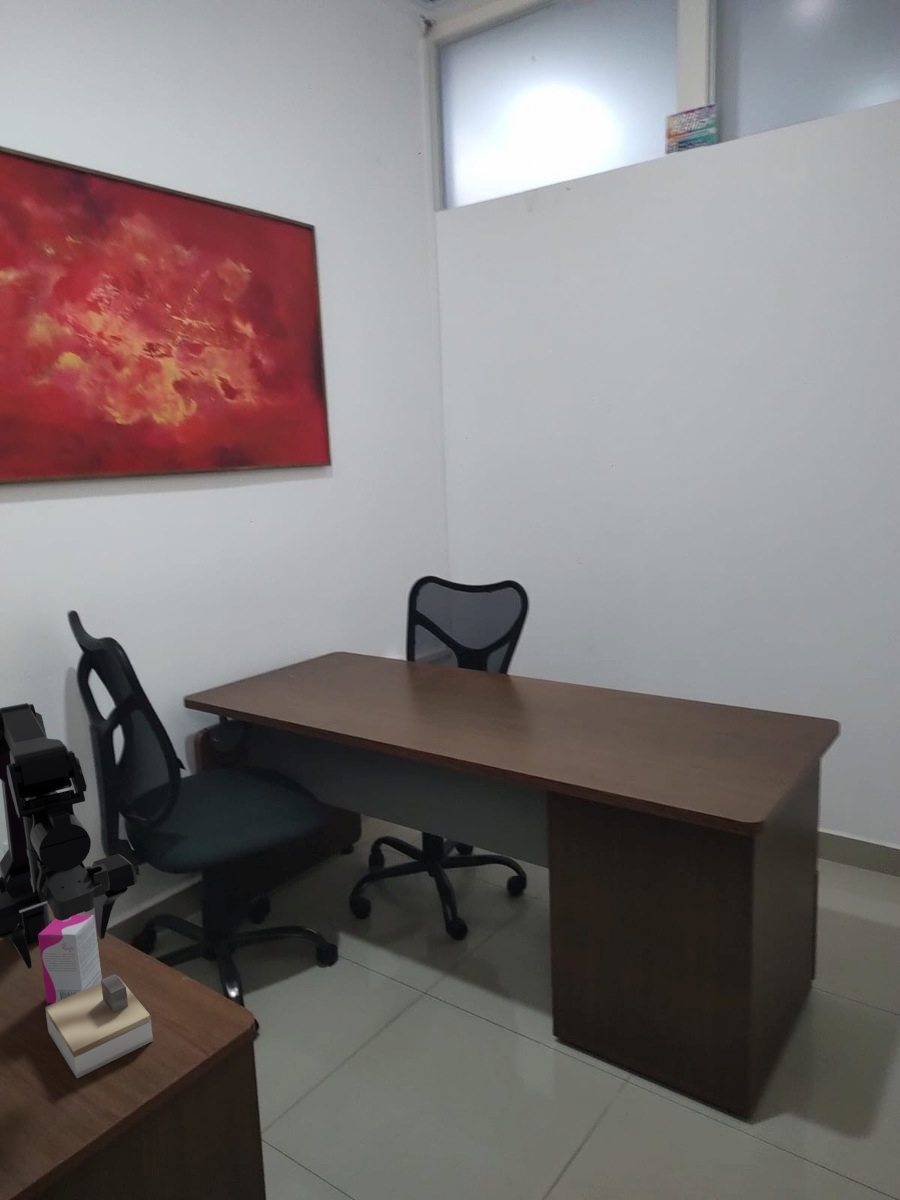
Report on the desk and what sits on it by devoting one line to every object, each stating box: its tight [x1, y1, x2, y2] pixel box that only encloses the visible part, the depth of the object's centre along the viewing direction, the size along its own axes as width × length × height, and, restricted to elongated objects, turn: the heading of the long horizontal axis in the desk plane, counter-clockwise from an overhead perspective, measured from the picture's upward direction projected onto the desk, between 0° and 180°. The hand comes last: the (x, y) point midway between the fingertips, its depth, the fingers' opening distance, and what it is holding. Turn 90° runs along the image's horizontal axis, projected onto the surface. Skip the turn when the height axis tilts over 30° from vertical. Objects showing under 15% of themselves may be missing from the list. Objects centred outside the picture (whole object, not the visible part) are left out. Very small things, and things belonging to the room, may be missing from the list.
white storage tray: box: [45, 1012, 154, 1079], centre depth 115 cm, size 12×10×3 cm
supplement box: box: [38, 914, 103, 1006], centre depth 123 cm, size 6×6×12 cm
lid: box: [44, 973, 152, 1057], centre depth 114 cm, size 12×10×4 cm
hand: (66, 952), depth 111 cm, fingers open, 9 cm apart
